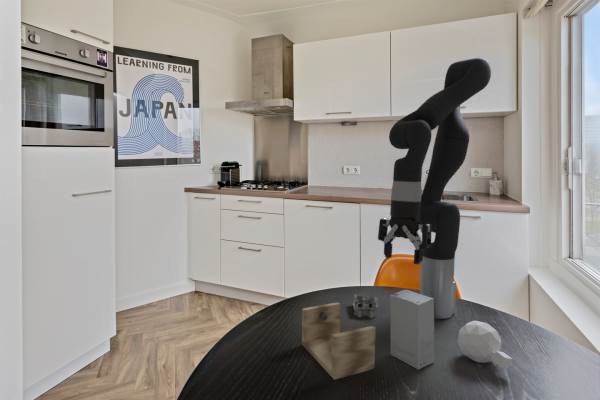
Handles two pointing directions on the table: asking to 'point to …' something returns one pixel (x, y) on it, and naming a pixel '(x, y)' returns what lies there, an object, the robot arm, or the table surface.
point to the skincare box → (412, 328)
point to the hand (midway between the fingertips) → (402, 260)
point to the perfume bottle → (482, 344)
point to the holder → (337, 342)
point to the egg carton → (365, 306)
